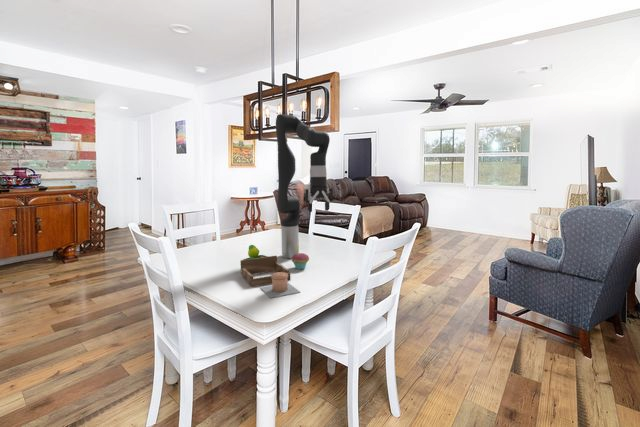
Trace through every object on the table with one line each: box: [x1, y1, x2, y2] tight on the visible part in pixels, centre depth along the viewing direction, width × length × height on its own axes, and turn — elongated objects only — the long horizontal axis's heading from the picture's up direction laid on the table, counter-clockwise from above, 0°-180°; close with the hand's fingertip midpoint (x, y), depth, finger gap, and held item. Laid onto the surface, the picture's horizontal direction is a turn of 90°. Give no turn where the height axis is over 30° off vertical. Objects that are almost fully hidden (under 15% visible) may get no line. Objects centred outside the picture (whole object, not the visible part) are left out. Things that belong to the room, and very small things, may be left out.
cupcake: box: [290, 243, 310, 270], centre depth 162 cm, size 9×8×12 cm
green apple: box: [242, 244, 269, 260], centre depth 162 cm, size 11×9×11 cm
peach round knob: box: [270, 272, 289, 292], centre depth 132 cm, size 7×7×6 cm
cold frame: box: [240, 255, 291, 288], centre depth 148 cm, size 17×17×7 cm
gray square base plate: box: [260, 282, 301, 299], centre depth 132 cm, size 12×12×1 cm
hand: (318, 211), depth 155 cm, fingers open, 8 cm apart
